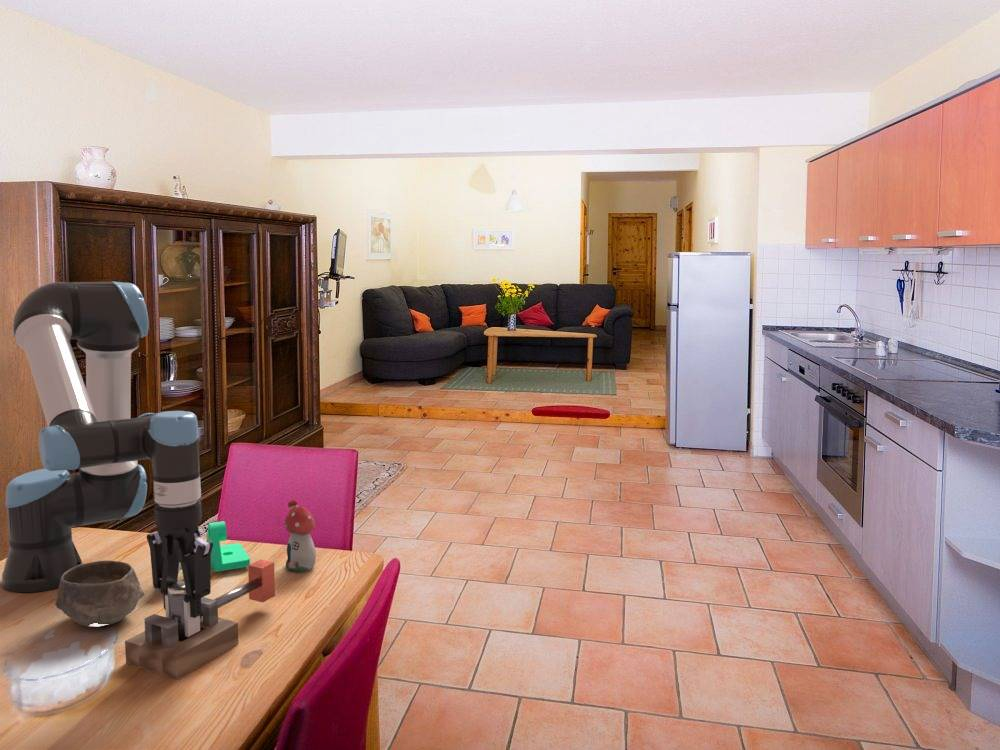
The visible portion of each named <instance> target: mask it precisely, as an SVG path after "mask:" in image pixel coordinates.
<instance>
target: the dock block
mask: <svg viewBox="0 0 1000 750" xmlns="http://www.w3.org/2000/svg"><path fill="white" fill-rule="evenodd" d="M201 606H202V609H203V616H202V617H200V631H199V632H197V633H196V634H195V635H193V636H191V637H189V638H188V639H186V640H184V641H178V621H177V620H173V619H170V618H166V616H163V615H158V614H156V613H153V614H152V615H149V616H147V617H144V620H143V621H144V631H142V632H139V633H138V634H136V635H134V636H132V637H130V638H127V639H125V640H124V650H125V651H124V652H125V653H124V654H125V663H126V664H128V665H130V666H131V665H132V666H135V667H136V668H137V667H138V668H139V669H140V668H141V669H144V670H147V671H149V672H152V673H156V674H160V675H162V676H166V677H168V678H172V679H175V680H178V679H180V678H182V677H183V676H185V675H187V674H189V673H191V672H192V671H194V670H196V669H197V668H199V667H200V666H202V665H204V664H206V663H207V662H210V661H211V660H213V659H214V658H216V657H218V656H220V655H221V654H224V652H227V651H228V650H229V649H231V648H233V647H235V646H237V645H238V644H239V626H238V625H239V622H236V621H232V620H229V619H226V618H221V617H219V612H218V611H219V610H218V609H219V608H218V603H217V601H216V600H214V599H213V598H208V597H206V596H204V597H202V598H201Z"/></svg>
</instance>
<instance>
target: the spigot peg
mask: <svg viewBox="0 0 1000 750" xmlns="http://www.w3.org/2000/svg"><path fill="white" fill-rule="evenodd" d="M168 594H169V603H170V619H173V620H177V621H178V641H184V640H186V639H188V638H189V637H191V636H193V635H195V634H196V633H195V634H193V635H191V636H189V637H187V636H185V623H184V599H186V598H187V594H186V589H185V583H184V580H182V581H178V582H176V583H173V584H171V585H169V586H168Z"/></svg>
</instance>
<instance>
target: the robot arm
mask: <svg viewBox="0 0 1000 750" xmlns="http://www.w3.org/2000/svg"><path fill="white" fill-rule="evenodd" d="M149 322H150V321H149V314H148V309H147V305H146V302H145V298H144V296H143V293H142V292H141V290H140V288H139V287H138V286H137V285H136V284H134V283H131V282H121V281H114V280H113V281H112V280H111V281H79V282H78V281H72V282H71V281H69V282H68V281H55V282H50V283H46V284H45V285H42V286H39V287H38V288H36V289H34V290H33V291H32V292H30V293H28V295H27V296H26V297H25V298H24V299H23V300H22V301H21V303H20V304H19V306H18V308H17V310H16V312H15V314H14V318H13V321H12V328H13V329H12V331H13V335H14V339H15V342H16V344H17V345H18V347H19V348H20V349H21V350H23V351H24V352H25V355H26V357H27V360H28V361H27V362H28V364H29V367H30V371H31V374H32V378H33V381H34V386H35V389H36V392H37V395H38V398H39V402H40V405H41V408H42V412H43V416H44V418H45V419H44V420H45V422H46V425H47V426H46V427H43V428H41V429H40V431H39V433H38V451H39V458H40V462H41V465H42V467H43V468H41V469H37V470H33V471H29V472H26V473H23V474H21V475H19V476H17V477H15V478H13V479H12V480H10V481H9V482H8V484H7V486H6V487H5V489H6V490H5V503H4V504H5V507H6V513H7V515H6V516H7V527H8V528H7V529H8V531H7V532H8V542H9V543H8V544H9V545H8V546H9V549H8V550H9V551H8V553H7V557H6V559H5V564H4V568H3V571H2V573H1V583H2V588H3V589H4V590H6V591H10V592H14V593H35V592H44V591H49V590H53V589H59V584H60V579H61V577H62V575H63V574H64V573H65V572H66V571H68V570H69V569H71V568H73V567H75V566H78V565H81V564H84V563H83V561H82V558H81V557H80V554H79V551H78V550H77V548H76V546H75V543H74V541H73V533H72V528H74V527H76V528H77V527H82V526H87V525H88V526H89V525H93V524H98V523H100V524H101V523H106V522H110V521H115V520H116V521H121V520H123V519H125V518H130V517H134V516H136V515H138V514H139V513H140V512H141V511H142V510H143V508H144V506H145V503H146V499H147V492H148V483H147V473H146V470H145V468H144V467H143V465H141V464H139V463H138V461H142V460H150V459H151V465H152V466H151V468H152V485H153V502H154V503H156V504H155V505H154V506H153V510H154V513H153V514H154V525H155V526H156V527H157V528H158V530H156V531H154V532H151V533H149V534H147V535H146V540H147V543H148V546H149V553H150V565H151V566H150V567H151V575H152V576H151V577H152V587H153V588H154V589H155V590H156V589H158V588H159V589H160V593H161V594H162V596H163V599H162V601H163V609H164V611H165V617H166V618H170V603H169V594H168V586H169V585H171V584H173V583H176V582H177V578H178V579H179V574H178V569H179V562H180V563H181V567H182V570H181V571H182V577H183V581H184V583H185V589H186V594H187V598H186V599H184V623H185V636H187V637H189V636H191V635H193V634H195V633H197V632H199V631H200V615H201V613H202V611H201V598H202V597H206V596H209V595H210V594H211V592H212V591H211V590H212V589H211V587H212V586H211V580H212V579H211V575H212V571H211V570H212V568H211V551H212V548H213V542H212V541H208V542H207V541H206V540H205V539H202V536H201V532H200V530H199V525H200V524H201V522H202V519H203V517H202V515H203V513H202V501H201V500H200V499H201V497H202V487H201V473H200V470H201V468H200V466H201V465H200V430H199V424H198V423H199V422H198V417H197V415H196V414H195V413H193V412H192V411H188V410H186V411H185V410H168V411H161V412H157V413H156V412H146V413H143V414H140V415H139V416H137V417H132V418H131V416H132V415H131V414H132V413H131V410H132V409H131V407H132V404H131V401H132V400H131V397H132V396H131V393H132V391H131V388H132V385H131V383H132V380H131V379H132V378H131V377H132V375H131V374H132V371H131V370H132V368H131V367H132V365H131V363H132V353H133V352H134V351H136V350H137V349H138V348H139V345H140V343H139V341H140V340H139V339H140V338H141V339H142V338H144V337H146V336H147V335H148V333H149V329H150V323H149ZM71 340H77V347H78V348H79V349H80V350H81V351H83V352H84V353H85V374H86V375H85V379H86V380H85V382H84V378H83V376H82V373H81V370H80V367H79V364H78V361H77V359H76V356H75V353H74V350H73V347H72V344H71ZM77 469H79V470H78V472H73V473H70V472H69V471H75V470H77ZM188 554H189V555H188ZM185 555H186V556H185ZM160 578H162V579H161V580H160Z"/></svg>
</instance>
